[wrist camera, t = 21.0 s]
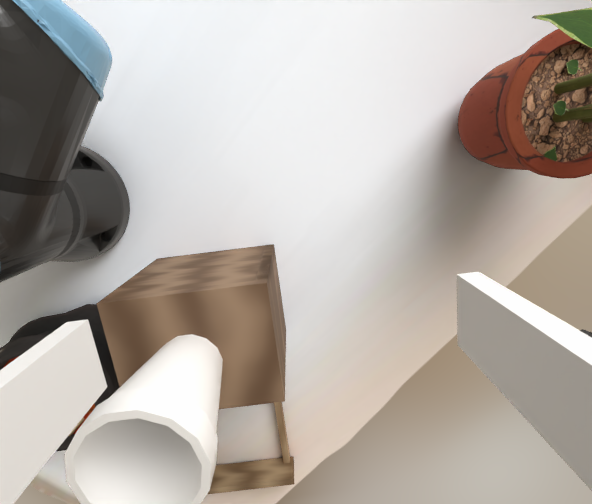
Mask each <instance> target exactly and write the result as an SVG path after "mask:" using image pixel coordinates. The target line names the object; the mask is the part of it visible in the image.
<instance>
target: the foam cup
mask: <svg viewBox="0 0 592 504" xmlns="http://www.w3.org/2000/svg"><path fill="white" fill-rule="evenodd" d="M222 362H223V359H222V357H221V355H220V353H219V350H218V348H217V347H216V346H215V345H214V344H212V343H211V342H210V341H209V340H208V339H206V338H203V337H200V336H196V335H193V334H190V335H182V336H177V337H175V338H174V339H172V340H171V341H169V342H167V343H166V344H165V345H164V346H163V347H162V348H161V349H159V350H158V351H157V352H156V353H155V354H154V355H153V356H152V357H151V358H150V359H149V360H148V361H147V362H146V363H145V364H144V365H143V366H142V367H141V368H140V369H139V370H138V371H136V372H135V373H134V374H133V375H132V376H131V377H130V378H129V379H128V380H127V381H126V382H125V383H124V384H123V385H122V386H121V387H120V388H119V389H118V390H117V391H116V392H115V393H114V394H112V395H111V396H110V397H109V398H108V399H106V400H105V401H103V402H102V403H100V404H98V405H97V406H96V407H95V409H94V410H93V411H92V412H91V414H90V415H89V416H88V417H87V419H86V420H85V421H84V423H83V424H82V425H81V426H80V428H79V429H78V430H77V432H76V434H75V436H74V438H73V439H72V441H71V443H70V445H69V447H68V449H67V450H66V452H65V454H64V459H65V473H66V482H67V484H68V485H69V487H70V488H71V490H72V491H73V493H74V495H75V496H76V498H77V499H78V501H79V502H80V504H201V503H202V501H203V500H204V498H205V497H206V495H207V494H208V492H209V491H210V487H211V483H212V479H213V475H214V470H215V466H216V462H217V446H218V436H217V434H216V433H217V422H218V411H219V400H220V389H221V378H222Z"/></svg>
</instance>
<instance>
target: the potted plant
mask: <svg viewBox="0 0 592 504" xmlns="http://www.w3.org/2000/svg"><path fill="white" fill-rule="evenodd" d="M532 18H535V19H540V20H545V21H549V22H551V23H552V24H554V25H555V26H556V27H558V28H559V29H558V30H555V31H554V32H552V33H550V34H548V35H547V36H545V37H544V38H542V39H541V40H539V41H538V42H537V43H535V44H534V45H532V46H531V47H530V48H529V49H528V50H527V51H526V52H525V53H524V54H522V55H520V56H518V57H515V58H513V59H511V60H509V61H507V62H505V63H503V64H501V65H499V66H497V67H496V68H494V69H493V70H491V71H490V72H489V73H487V74H486V75H485V76H484V77H483V78H482V79H481V80H479V81H478V82H477V83H476V84H475V85H474V86H473V87H472V88H471V89H470V91H469V92H468V94H467V95H466V97H465V98H464V101H463V103H462V105H461V108H460V112H459V116H458V130H459V135H460V138H461V141H462V143H463V145H464V147H465V149H466V150H467V151H468V152H469V153H470V154H471V155H472V156H474V157H475V158H476V159H478V160H480V161H483V162H485V163H488V164H490V165H493V166H495V167H500V168H505V169H520V170H530V171H532V172H534V173H537V174H539V175H544V176H549V177H555V178H577V177H582V176H586V175H590V174H592V8H586V9H580V10H574V11H567V12H561V13H554V14H546V15H537V16H533V17H532Z"/></svg>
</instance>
